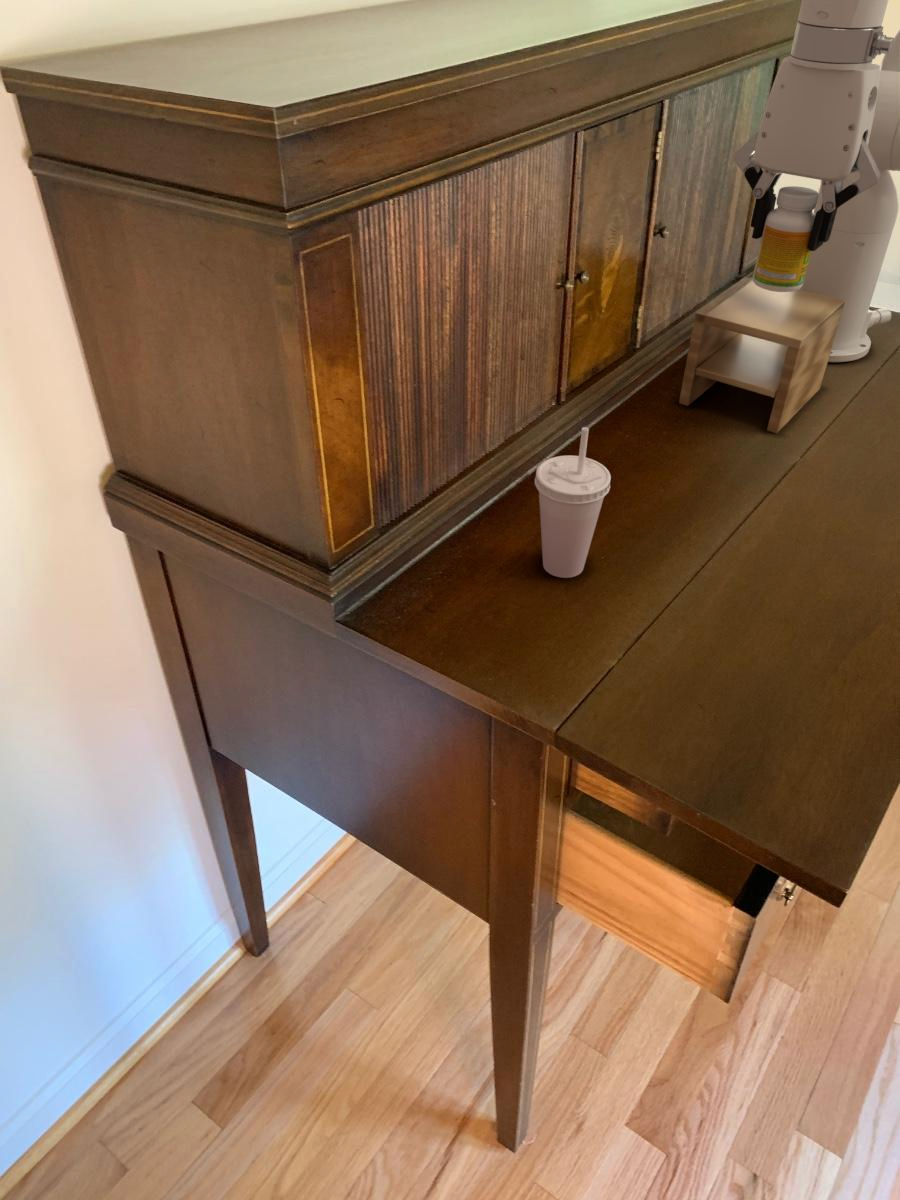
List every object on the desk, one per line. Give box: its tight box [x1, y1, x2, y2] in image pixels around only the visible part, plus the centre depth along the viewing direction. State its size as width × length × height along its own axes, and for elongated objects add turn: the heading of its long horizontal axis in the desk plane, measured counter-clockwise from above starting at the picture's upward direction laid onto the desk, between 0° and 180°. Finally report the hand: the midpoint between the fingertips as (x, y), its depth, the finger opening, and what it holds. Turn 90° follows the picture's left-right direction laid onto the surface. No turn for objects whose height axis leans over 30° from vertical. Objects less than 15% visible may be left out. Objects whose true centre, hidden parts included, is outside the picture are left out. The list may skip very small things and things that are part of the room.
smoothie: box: [534, 426, 612, 579], centre depth 79 cm, size 6×6×14 cm
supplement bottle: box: [752, 185, 819, 292], centre depth 98 cm, size 5×5×10 cm
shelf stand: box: [678, 276, 845, 434], centre depth 106 cm, size 14×12×11 cm
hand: (787, 239), depth 98 cm, fingers closed on supplement bottle, 5 cm apart
